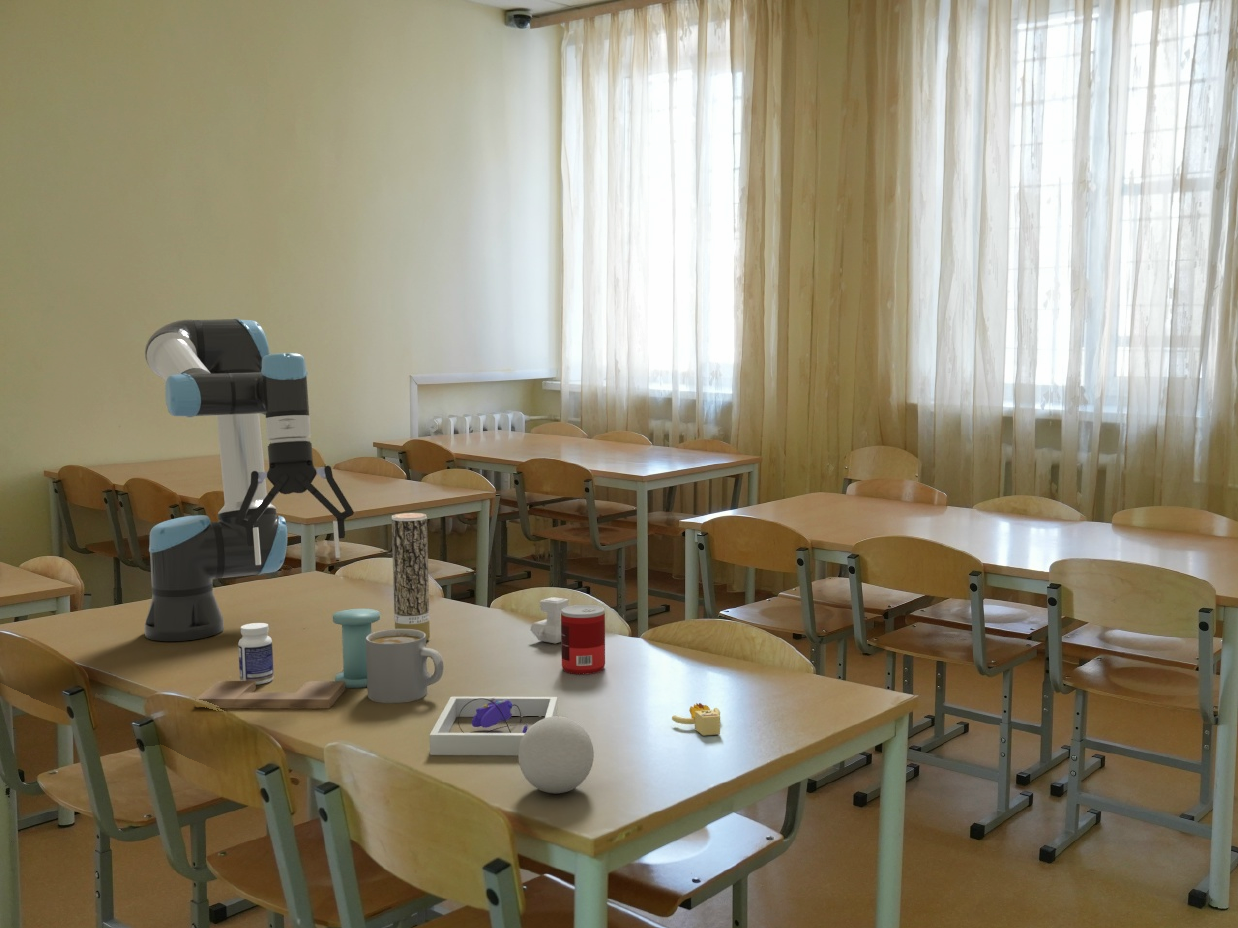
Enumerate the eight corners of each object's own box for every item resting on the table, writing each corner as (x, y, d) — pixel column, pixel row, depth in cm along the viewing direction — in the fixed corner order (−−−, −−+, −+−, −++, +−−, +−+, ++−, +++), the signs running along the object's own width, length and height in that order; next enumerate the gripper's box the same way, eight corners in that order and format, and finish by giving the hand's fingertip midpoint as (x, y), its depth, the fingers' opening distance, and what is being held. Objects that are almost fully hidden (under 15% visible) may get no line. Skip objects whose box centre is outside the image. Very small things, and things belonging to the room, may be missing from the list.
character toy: (716, 697, 189) (735, 712, 181) (716, 717, 189) (735, 733, 181) (668, 702, 186) (685, 717, 179) (668, 722, 187) (685, 738, 179)
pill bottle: (280, 678, 212) (278, 623, 211) (258, 687, 207) (255, 631, 205) (255, 674, 214) (253, 620, 213) (232, 683, 209) (230, 627, 208)
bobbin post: (329, 687, 206) (327, 619, 204) (341, 674, 214) (339, 608, 212) (375, 687, 206) (373, 619, 204) (386, 674, 214) (384, 608, 212)
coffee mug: (355, 697, 201) (353, 639, 199) (394, 681, 209) (392, 626, 208) (417, 709, 194) (415, 649, 193) (455, 693, 202) (454, 635, 201)
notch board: (196, 707, 196) (195, 698, 195) (218, 689, 206) (218, 680, 205) (329, 708, 195) (329, 699, 195) (345, 689, 205) (345, 681, 205)
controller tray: (430, 754, 173) (429, 734, 173) (451, 714, 191) (451, 696, 191) (547, 755, 173) (546, 735, 172) (557, 715, 191) (557, 696, 190)
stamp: (555, 633, 241) (554, 592, 240) (581, 638, 237) (581, 597, 236) (526, 643, 234) (525, 601, 233) (552, 648, 230) (552, 605, 229)
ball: (556, 811, 153) (555, 736, 152) (503, 792, 159) (502, 719, 158) (609, 788, 160) (608, 716, 159) (556, 770, 167) (555, 701, 166)
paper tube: (433, 636, 239) (430, 513, 237) (425, 645, 233) (421, 518, 230) (400, 635, 240) (397, 512, 237) (390, 644, 233) (387, 518, 230)
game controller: (449, 705, 185) (510, 684, 188) (464, 756, 184) (525, 735, 187) (461, 704, 175) (524, 683, 179) (477, 758, 174) (540, 736, 178)
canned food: (614, 667, 217) (613, 608, 215) (582, 677, 211) (582, 616, 210) (583, 660, 222) (583, 602, 221) (552, 669, 216) (551, 609, 215)
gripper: (213, 445, 205) (222, 568, 205) (361, 435, 211) (370, 555, 210) (217, 447, 212) (226, 566, 212) (361, 437, 218) (369, 553, 218)
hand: (298, 561), depth 211 cm, fingers open, 13 cm apart
